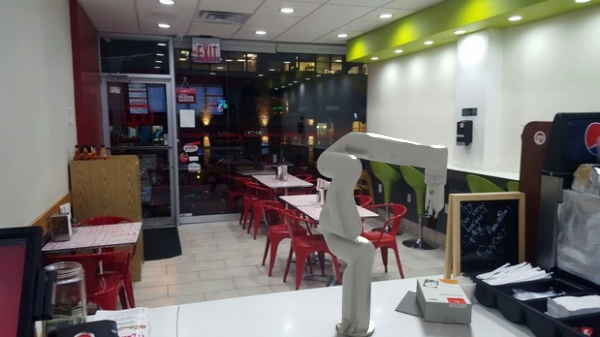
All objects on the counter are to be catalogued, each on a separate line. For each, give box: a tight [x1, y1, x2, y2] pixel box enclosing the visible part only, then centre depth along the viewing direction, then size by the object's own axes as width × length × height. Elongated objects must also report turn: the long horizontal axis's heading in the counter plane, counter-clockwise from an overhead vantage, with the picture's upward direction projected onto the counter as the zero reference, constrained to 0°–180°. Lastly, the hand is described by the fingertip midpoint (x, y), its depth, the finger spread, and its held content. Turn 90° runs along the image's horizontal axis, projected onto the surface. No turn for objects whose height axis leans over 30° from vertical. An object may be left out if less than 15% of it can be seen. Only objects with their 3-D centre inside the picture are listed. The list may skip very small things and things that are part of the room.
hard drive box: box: [415, 277, 473, 324], centre depth 147 cm, size 16×8×20 cm
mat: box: [394, 290, 448, 325], centre depth 150 cm, size 18×18×1 cm
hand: (432, 227), depth 150 cm, fingers closed
